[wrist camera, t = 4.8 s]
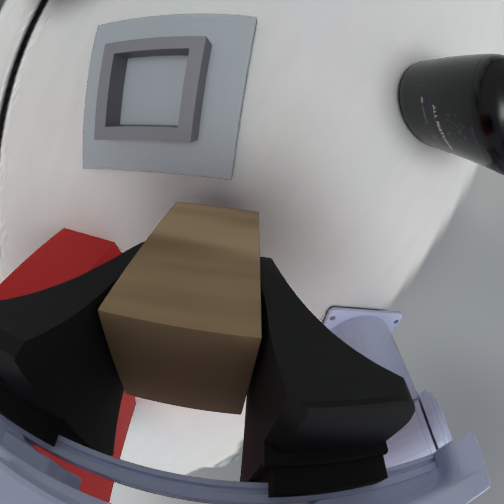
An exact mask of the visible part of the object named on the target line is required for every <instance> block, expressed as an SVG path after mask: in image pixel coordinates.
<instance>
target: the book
mask: <svg viewBox="0 0 504 504" xmlns="http://www.w3.org/2000/svg"><path fill="white" fill-rule="evenodd" d="M120 254H122V253H121V252H120V250H119V249H118V247H117V246H116V244H115V243H114V242H111V241H108V240H104V239H101V238H97V237H94V236H90V235H87V234H83V233H80V232H76V231H73V230H69V229H66V228H64V229H62V230H61V231H60V232H58V233H57V234H56V235H55V236H53V237H52V238H51V239H50V240H48V241H47V242H46V243H45V244H44V245H42V246H41V247H40V248H39V249H38V250H37V251H35V252H34V253H33V254H32V255H31V256H30V257H29V258H27V259H26V260H25V261H24V262H23V263H22V264H21V265H20V266H19V267H18V268H16V269H15V270H14V271H13V272H12V273H11V274H10V275H9V276H8V277H7V278H6V279H5V280H4V281H3V282H2V283H1V284H0V300H4V299H10V298H15V297H19V296H23V295H27V294H31V293H35V292H38V291H41V290H44V289H47V288H50V287H53V286H56V285H59V284H61V283H64V282H66V281H69V280H71V279H73V278H76V277H78V276H80V275H82V274H84V273H86V272H88V271H90V270H92V269H94V268H96V267H98V266H100V265H102V264H104V263H106V262H108V261H109V260H111V259H113V258H115V257H117V256H118V255H120ZM135 405H136V401H135V396H132V395H128V394H126V392H125V390H124V392H123V396H122V400H121V405H120V410H119V416H118V422H117V428H116V435H115V444H114V455H113V456H112V457H115V458H118V459H120V456H121V453H122V449H123V445H124V442H125V438H126V435H127V431H128V428H129V424H130V421H131V418H132V415H133V411H134V408H135ZM33 445H34V444H33ZM34 447H35V449H36V450H38V451H39V452H41V453H42V454H44V455H46V456H47V457H49V458H51V459H52V460H53V461H54V462H56V463H57V464H58V465H60V466H61V467H63V468H64V469H66V470H68V471H69V472H71V473H73V474H75V475H77V476H78V477H80V478H81V480H82V481H81V484H80V491H81V492H83V493H86V494H88V495H90V496H93V497H95V498H98V499H100V500H103V501H105V502H108V503H109V501H110V496H111V492H112V487H113V484H114V482H113V481H110V480H108V479H105V478H102V477H100V476H97V475H95V474H92V473H90V472H87V471H85V470H83V469H80V468H78V467H76V466H74V465H71V464H69V463H67V462H65V461H63V460H61V459H59V458H57V457H55V456H53V455H52V454H50V453H48V452H46V451H44V450H42V449H41V448H39V447H37V446H36V445H34Z"/></svg>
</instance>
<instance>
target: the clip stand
mask: <svg viewBox="0 0 504 504" xmlns="http://www.w3.org/2000/svg"><path fill="white" fill-rule="evenodd" d="M256 24H257V17H252V16H242V15H228V14H175V15H161V16H151V17H142V18H135V19H129V20H123V21H117V22H112V23H107V24H102V25H98V28H97V32H96V36H95V41H94V45H93V50H92V56H91V61H90V67H89V74H88V81H87V89H86V98H85V110H84V125H83V169H113V170H133V171H148V172H161V173H173V174H184V175H193V176H203V177H211V178H220V179H228V180H231V178H232V174H233V166H234V159H235V152H236V145H237V138H238V131H239V124H240V118H241V111H242V105H243V98H244V92H245V86H246V80H247V74H248V68H249V62H250V57H251V51H252V45H253V40H254V34H255V29H256Z"/></svg>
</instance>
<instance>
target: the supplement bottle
mask: <svg viewBox="0 0 504 504" xmlns="http://www.w3.org/2000/svg"><path fill="white" fill-rule="evenodd" d="M400 103H401V108H402V112H403V115H404V118H405V120H406V122H407V124H408V126H409V127H410V129H411V130H412V132H413V133H414V134H415V135H416V136H417V137H418V138H419V139H420V140H421V141H423V142H424V143H426V144H428V145H430V146H432V147H435V148H438V149H440V150H443V151H446V152H449V153H452V154H454V155H457V156H460V157H462V158H465V159H468V160H470V161H473V162H475V163H477V164H480V165H482V166H485V167H487V168H489V169H491V170H494V171H496V172H498V173H500V174H503V175H504V55H500V54H477V55H464V56H454V57H445V58H438V59H431V60H426V61H421V62H418V63H416V64H414V65H412V66H411V67H410V68H409V69H408V70H407V71H406V73H405V75H404V76H403V79H402V82H401V86H400Z"/></svg>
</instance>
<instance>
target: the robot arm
mask: <svg viewBox="0 0 504 504" xmlns="http://www.w3.org/2000/svg"><path fill="white" fill-rule="evenodd" d="M144 243H145V242H142V243H140V244H138V245H136V246H134V247H133V248H131V249H129V250H127V251H125V252H124V253H122V254H120V255H118V256H117V257H115V258H113V259H111V260H109V261H108V262H106V263H104V264H102V265H100V266H98V267H96V268H94V269H92V270H90V271H88V272H86V273H84V274H82V275H80V276H78V277H76V278H73V279H71V280H69V281H66V282H64V283H61V284H59V285H56V286H53V287H50V288H47V289H44V290H41V291H38V292H35V293H31V294H27V295H23V296H19V297H15V298H10V299H4V300H0V504H111V503H108V502H105V501H103V500H100V499H98V498H95V497H93V496H90V495H88V494H86V493H83V492H81V491H80V484H81V481H82V480H81V478H80V477H78V476H77V475H75V474H73V473H71V472H69V471H68V470H66V469H64V468H63V467H61V466H60V465H58V464H57V463H56V462H54V461H53V460H52V459H51V458H49V457H47V456H46V455H44V454H42V453H41V452H39V451H38V450H36V449H35V447H34V445H36V446H37V447H39V448H41V449H42V450H44V451H46V452H48V453H50V454H52V455H53V456H55V457H57V458H59V459H61V460H63V461H65V462H67V463H69V464H71V465H74V466H76V467H78V468H80V469H83V470H85V471H87V472H90V473H92V474H95V475H97V476H100V477H102V478H105V479H108V480H110V481H113V482H117V483H119V484H122V485H125V486H129V487H132V488H135V489H139V490H143V491H146V492H150V493H154V494H158V495H162V496H167V497H172V498H177V499H183V500H188V501H195V502H202V503H210V504H467V503H469V502H470V501H472V500H473V499H475V498H476V497H477V496H479V495H480V494H482V493H483V492H484V491H486V490H487V489H489V488H490V486H491V483H490V480H489V476H488V473H487V469H486V466H485V463H484V460H483V457H482V454H481V451H480V448H479V445H478V442H477V439H476V437H475V434H474V432H470V433H468V434H465V435H463V436H461V437H459V438H456V439H454V440H453V439H452V436H451V434H450V431H449V428H448V426H447V423H446V420H445V418H444V415H443V413H442V410H441V408H440V405H439V403H438V401H437V398H436V396H435V394H434V393H432V392H428V391H426V390H425V391H423V392H422V393H420V396H419V394H418V392H417V391H416V389H415V387H414V384H413V382H412V380H411V377H410V375H409V372H408V370H407V368H406V366H405V363H404V361H403V359H402V357H401V354H400V352H399V350H398V348H397V346H396V344H395V341H394V339H393V337H392V334H393V332H394V330H395V329H396V327H397V326H398V324H399V322H400V320H401V319H402V313H401V312H396V311H380V310H365V309H351V308H339V307H333V308H331V309H329V311H328V313H327V316H326V318H325V320H324V323H323V324H322V323H321V322H320V321H319V320H318V319H317V318H316V317H315V316H314V315H313V314H312V313H311V312H310V311H309V310H308V308H307V307H306V306H305V305H304V304H303V303H302V301H301V300H300V299H299V298H298V297H297V295H296V294H295V293H294V291H293V290H292V289H291V287H290V286H289V285H288V283H287V282H286V280H285V279H284V277H283V276H282V274H281V273H280V271H279V270H278V268H277V266H276V265H275V263H274V262H273V260H272V259H271V258H266V257H260V286H261V336H262V338H261V342H260V346H259V350H258V354H257V358H256V361H255V365H254V369H253V373H252V376H251V380H250V384H249V388H248V391H247V399H246V415H245V429H244V442H243V455H242V466H241V477H240V482H236V481H223V480H213V479H205V478H199V477H192V476H186V475H180V474H175V473H170V472H165V471H161V470H157V469H152V468H148V467H145V466H141V465H137V464H134V463H130V462H127V461H124V460H121V459H118V458H115V457H112V456H113V455H114V444H115V435H116V428H117V422H118V416H119V410H120V405H121V400H122V396H123V392H124V388H123V385H122V383H121V380H120V377H119V375H118V372H117V370H116V367H115V364H114V361H113V358H112V356H111V353H110V350H109V347H108V343H107V340H106V337H105V334H104V331H103V327H102V324H101V320H100V317H99V313H98V309H99V307H100V305H101V304H102V302H103V301H104V299H105V298H106V296H107V295H108V293H109V292H110V290H111V289H112V287H113V286H114V284H115V283H116V282H117V280H118V279H119V277H120V276H121V274H122V273H123V271H124V270H125V269H126V267H127V266H128V264H129V263H130V262H131V260H132V259H133V258H134V256H135V255H136V253H137V252H138V251H139V249H140V248H141V247H142V245H143V244H144ZM332 316H334V317H332ZM330 317H332V318H330ZM33 444H34V445H33Z"/></svg>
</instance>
